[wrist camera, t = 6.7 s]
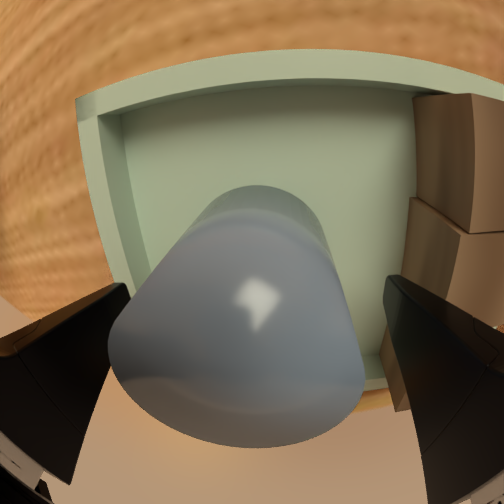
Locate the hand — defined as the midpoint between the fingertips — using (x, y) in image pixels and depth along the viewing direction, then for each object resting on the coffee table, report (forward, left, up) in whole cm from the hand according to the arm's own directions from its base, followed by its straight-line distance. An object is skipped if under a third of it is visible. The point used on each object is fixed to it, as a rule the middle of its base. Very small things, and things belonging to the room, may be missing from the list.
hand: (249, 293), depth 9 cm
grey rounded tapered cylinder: (0, 0, -3) cm, 3 cm away
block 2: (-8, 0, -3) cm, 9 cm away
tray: (-3, 0, -4) cm, 5 cm away
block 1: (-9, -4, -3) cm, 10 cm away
